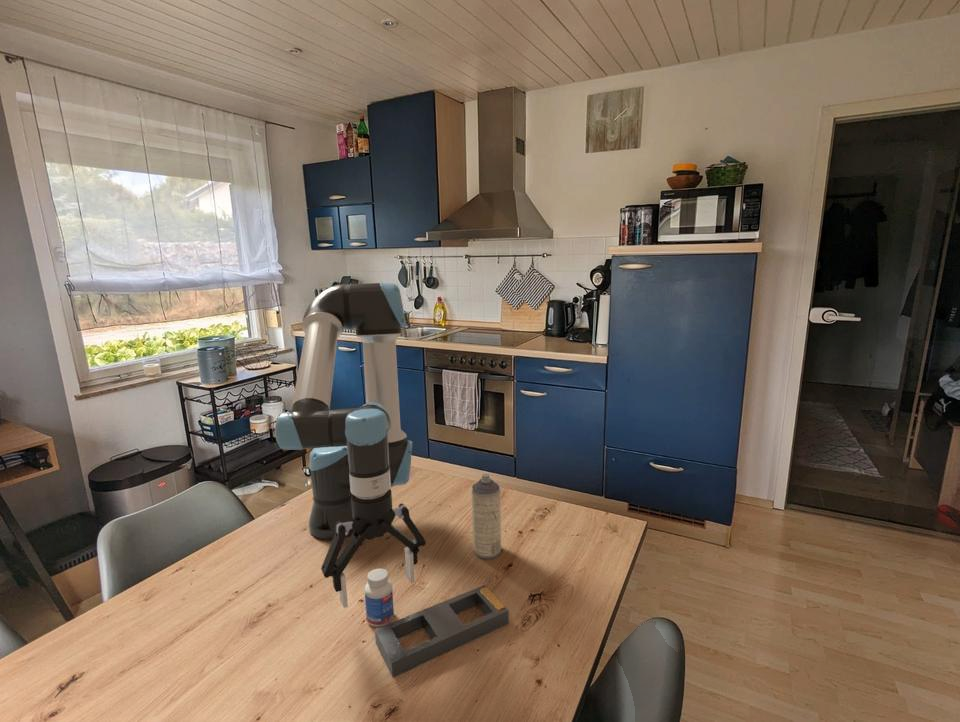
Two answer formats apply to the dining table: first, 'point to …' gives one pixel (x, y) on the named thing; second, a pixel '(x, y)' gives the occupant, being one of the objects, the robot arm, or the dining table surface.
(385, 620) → the pill bottle
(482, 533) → the aerosol can
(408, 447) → the robot arm
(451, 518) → the dining table surface
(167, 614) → the dining table surface
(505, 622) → the grey bottle holder tray
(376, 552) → the dining table surface
